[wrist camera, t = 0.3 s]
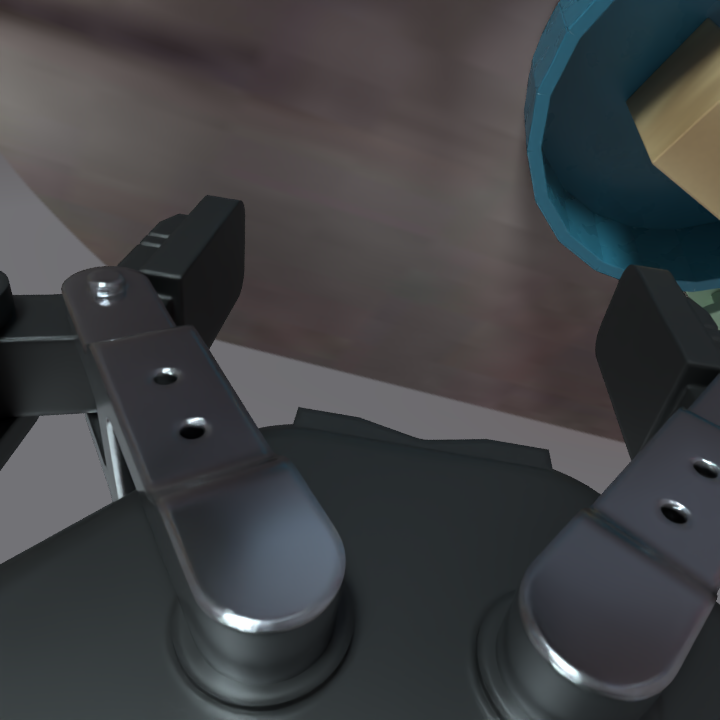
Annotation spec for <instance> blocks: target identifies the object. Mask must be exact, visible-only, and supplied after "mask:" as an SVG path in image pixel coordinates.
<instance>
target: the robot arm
mask: <svg viewBox="0 0 720 720" xmlns="http://www.w3.org/2000/svg"><path fill="white" fill-rule="evenodd" d="M244 260H245V208H244V204H243V202H242V201H241V200H235V199H228V198H222V197H216V196H210V195H206V196H205V197H204V198H203V199H202V200H201V201H200V202H199V204H198V205H197V206H196V207H195V208H194V209H193V210H192V211H191V212H190V214H189V215H184V214H177V215H175V216H173V217H170V218H168V219H165V220H163V221H161V222H159V223H158V224H157V225H156V226H155V227H154V228H153V229H152V230H151V231H150V233H149V235H147V236H146V237H145V238H144V239H143V240H142V241H141V242H140V245H137V246H136V247H135V248H134V249H133V250H132V251H131V252H130V253H129V254H128V255H127V256H126V257H125V258H124V259H123V260H122V261H121V262H120V263H119V264H118V265H117V266H103V267H94V268H90V269H86V270H83V271H80V272H77V273H75V274H73V275H72V276H70V277H69V278H68V279H66V280H65V281H64V283H63V285H62V288H61V290H62V294H54V295H12V292H11V288H10V284H9V280H8V277H7V276H6V274H4V273H3V272H2V271H0V470H1V469H2V468H3V466H4V465H5V463H6V462H7V461H8V459H9V458H10V457H11V455H12V454H13V453H14V451H15V450H16V448H17V447H18V446H19V444H20V443H21V442H22V440H23V439H24V437H25V436H26V435H27V433H28V432H29V431H30V429H31V428H32V426H33V425H34V424H35V422H36V421H37V419H38V417H39V416H43V415H59V414H60V415H61V414H79V413H85V417H86V421H87V424H88V427H89V430H90V433H91V436H92V439H93V442H94V445H95V448H96V451H97V454H98V457H99V460H100V463H101V466H102V469H103V472H104V475H105V478H106V480H107V484H108V487H109V490H110V494H111V498H112V503H111V504H109V505H107V506H105V507H103V508H102V509H100V510H98V511H96V512H94V513H93V514H91V515H89V516H87V517H85V518H83V519H82V520H80V521H78V522H76V523H74V524H72V525H71V526H69V527H67V528H65V529H63V530H62V531H60V532H58V533H57V534H54V535H53V536H51V537H49V538H47V539H45V540H44V541H42V542H40V543H38V544H36V545H34V546H33V547H31V548H29V549H27V550H25V551H24V552H22V553H20V554H18V555H16V556H15V557H13V558H11V559H9V560H7V561H6V562H4V563H2V564H0V720H720V604H718V603H717V602H716V600H717V592H718V590H719V588H720V330H718V326H717V324H716V323H715V321H714V320H713V318H712V317H711V315H710V314H709V312H707V311H706V310H705V309H704V308H702V307H701V306H700V305H698V304H697V303H696V302H695V301H693V300H692V299H691V298H689V297H686V296H685V294H684V293H683V291H682V290H681V288H680V286H679V285H678V283H677V282H676V280H675V279H674V277H673V275H672V274H671V272H670V271H668V270H663V269H657V268H651V267H645V266H638V265H629V266H628V267H627V268H626V269H625V270H624V272H623V274H622V276H621V278H620V280H619V283H618V285H617V287H616V290H615V292H614V295H613V297H612V299H611V302H610V304H609V307H608V309H607V311H606V314H605V316H604V319H603V321H602V324H601V326H600V328H599V331H598V335H597V339H596V349H595V350H596V358H597V361H598V364H599V367H600V370H601V373H602V376H603V379H604V382H605V385H606V388H607V391H608V394H609V396H610V399H611V402H612V405H613V408H614V411H615V414H616V417H617V420H618V423H619V426H620V429H621V432H622V435H623V438H624V441H625V444H626V447H627V449H628V452H629V455H630V458H631V462H630V463H629V464H628V465H627V466H626V467H625V469H624V470H623V471H622V472H621V473H620V474H619V475H618V476H617V478H616V479H615V480H614V481H613V482H612V483H611V484H610V485H609V486H608V487H607V489H606V490H605V491H604V492H603V493H602V494H599V493H597V492H596V491H595V490H593V489H592V488H590V487H589V486H587V485H585V484H583V483H582V482H580V481H578V480H576V479H574V478H572V477H570V476H568V475H565V474H563V473H561V472H559V471H556V470H554V469H552V464H551V459H550V454H549V450H547V449H541V448H535V447H529V446H524V445H518V444H512V443H506V442H500V441H494V440H488V439H469V440H468V439H467V440H466V439H465V440H423V439H419V438H415V437H412V436H409V435H407V434H404V433H401V432H398V431H396V430H393V429H390V428H387V427H384V426H382V425H378V424H376V423H373V422H370V421H368V420H365V419H362V418H359V417H353V416H347V415H342V414H336V413H330V412H324V411H318V410H312V409H306V408H300V407H299V408H298V410H297V414H296V417H295V420H294V424H290V425H289V424H288V425H276V426H268V427H263V428H258V427H257V426H256V424H255V423H254V421H253V419H252V418H251V416H250V415H249V413H248V411H247V410H246V408H245V406H244V405H243V404H242V402H241V400H240V398H239V397H238V395H237V394H236V392H235V390H234V389H233V387H232V386H231V384H230V382H229V381H228V379H227V378H226V376H225V375H224V373H223V371H222V370H221V368H220V367H219V365H218V363H217V362H216V360H215V358H214V357H213V355H212V354H211V352H210V350H209V349H210V347H211V345H212V343H213V341H214V340H215V338H216V336H217V334H218V333H219V331H220V329H221V327H222V326H223V324H224V322H225V320H226V319H227V317H228V315H229V313H230V312H231V310H232V308H233V306H234V304H235V303H236V301H237V299H238V297H239V295H240V292H241V289H242V285H243V279H244Z"/></svg>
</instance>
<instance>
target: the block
mask: <svg viewBox="0 0 720 720" xmlns="http://www.w3.org/2000/svg"><path fill="white" fill-rule="evenodd" d="M626 104H627V106H628V109H629V111H630V113H631V116H632V118H633V120H634V123H635V125H636V127H637V130H638V132H639V134H640V137H641V139H642V141H643V144H644V146H645V149H646V151H647V153H648V156H649V158H650V160H651V163H652V164H653V165H654V166H655V167H656V168H658V169H659V170H660V171H661V172H662V173H664V174H665V175H666V176H667V177H668V178H670V179H671V180H672V181H673V182H675V183H676V184H677V185H678V186H679V187H681V188H682V189H683V190H684V191H685V192H687V193H688V194H689V195H690V196H691V197H693V198H694V199H695V200H696V201H697V202H699V203H700V204H701V205H702V206H703V207H705V208H706V209H707V210H708V211H709V212H711V213H712V214H713V215H714V216H715V217H717V218H718V219H719V220H720V28H719V27H718V26H717V25H716V24H715V23H714V22H713V21H712V20H711V19H710V18H707V19H706V20H705V21H704V22H703V23H702V24H701V25H700V26H699V27H698V28H697V29H696V30H695V31H694V32H693V33H692V34H691V35H690V36H689V37H688V38H687V39H686V40H685V41H684V42H683V43H682V44H681V46H680V47H679V48H678V49H677V50H676V51H675V52H674V53H673V54H672V55H671V56H670V57H669V58H668V59H667V60H666V61H665V62H664V63H663V64H662V65H661V66H660V67H659V68H658V69H657V70H656V71H655V72H654V73H653V74H652V75H651V76H650V77H649V78H648V79H647V80H646V81H645V82H644V83H643V84H642V86H641V87H640V88H639V89H638V90H637V91H636V92H635V93H634V94H633V95H632V96H631V97H630V98H629V99H628V100H627V101H626Z"/></svg>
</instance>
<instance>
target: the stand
mask: <svg viewBox="0 0 720 720" xmlns="http://www.w3.org/2000/svg"><path fill="white" fill-rule="evenodd" d="M686 293H687V295H688V297H689V298H691V299H692V300H693V301H695V302H696V303H697V304H698V305H700V306H701V307H702V308H704V309H705V310H706V311H707V312H709V314H710V315H711V317H712V318H713V320H714V321H715V323H716V324H717V326H718V330H720V288H717V289H710V290H704V291H697V292H686Z"/></svg>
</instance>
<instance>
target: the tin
mask: <svg viewBox="0 0 720 720" xmlns="http://www.w3.org/2000/svg"><path fill="white" fill-rule="evenodd" d="M707 18H710V19H711V20H712V21H713V22H714V23H715V24H716V25H717V26H718V27H719V28H720V0H560V2H559V3H558V5H557V6H556V8H555V9H554V11H553V13H552V15H551V17H550V19H549V21H548V23H547V25H546V27H545V29H544V31H543V33H542V35H541V38H540V41H539V43H538V46H537V49H536V51H535V54H534V56H533V59H532V64H531V70H530V74H529V78H528V86H527V95H526V102H525V108H524V116H525V131H526V146H527V156H528V162H529V168H530V173H531V179H532V185H533V191H534V197H535V201H536V203H537V205H538V207H539V209H540V210H541V212H542V214H543V215H544V217H545V219H546V220H547V222H548V224H549V225H550V227H551V229H552V231H553V232H554V234H555V236H556V237H557V239H558V241H560V243H562V244H563V245H564V246H565V247H567V248H568V249H569V250H570V251H571V252H573V253H574V254H575V255H576V256H578V257H579V258H580V259H581V260H583V261H584V262H585V263H586V264H588V265H589V266H590V267H591V268H593V269H594V270H596V271H598V272H600V273H603V274H606V275H608V276H611V277H614V278H616V279H619V280H620V278H621V276H622V274H623V272H624V270H625V269H626V268H627V267H628V266H629V265H638V266H645V267H651V268H657V269H663V270H668V271H670V272H671V274H672V275H673V277H674V279H675V280H676V282H677V283H678V285H679V286H680V288H681V290H682V291H685V292H697V291H704V290H710V289H717V288H720V220H719V219H718V218H717V217H715V216H714V215H713V214H712V213H711V212H709V211H708V210H707V209H706V208H705V207H703V206H702V205H701V204H700V203H699V202H697V201H696V200H695V199H694V198H693V197H691V196H690V195H689V194H688V193H687V192H685V191H684V190H683V189H682V188H681V187H679V186H678V185H677V184H676V183H675V182H673V181H672V180H671V179H670V178H668V177H667V176H666V175H665V174H664V173H662V172H661V171H660V170H659V169H658V168H656V167H655V166H654V165H653V164H652V163H651V160H650V158H649V156H648V153H647V151H646V149H645V146H644V144H643V141H642V139H641V137H640V134H639V132H638V130H637V127H636V125H635V123H634V120H633V118H632V116H631V113H630V111H629V109H628V106H627V104H626V101H627V100H628V99H629V98H630V97H631V96H632V95H633V94H634V93H635V92H636V91H637V90H638V89H639V88H640V87H641V86H642V84H643V83H644V82H645V81H646V80H647V79H648V78H649V77H650V76H651V75H652V74H653V73H654V72H655V71H656V70H657V69H658V68H659V67H660V66H661V65H662V64H663V63H664V62H665V61H666V60H667V59H668V58H669V57H670V56H671V55H672V54H673V53H674V52H675V51H676V50H677V49H678V48H679V47H680V46H681V44H682V43H683V42H684V41H685V40H686V39H687V38H688V37H689V36H690V35H691V34H692V33H693V32H694V31H695V30H696V29H697V28H698V27H699V26H700V25H701V24H702V23H703V22H704V21H705V20H706V19H707Z"/></svg>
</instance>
